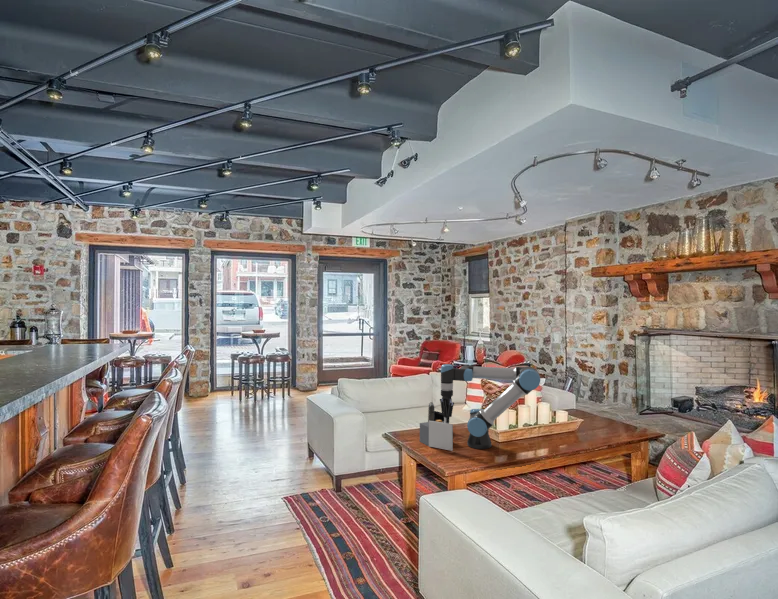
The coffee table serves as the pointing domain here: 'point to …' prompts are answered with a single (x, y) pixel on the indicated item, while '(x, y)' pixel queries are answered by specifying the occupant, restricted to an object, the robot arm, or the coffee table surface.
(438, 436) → the grey square panel
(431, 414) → the vintage camera
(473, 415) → the robot arm
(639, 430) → the coffee table surface
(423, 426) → the grey box
